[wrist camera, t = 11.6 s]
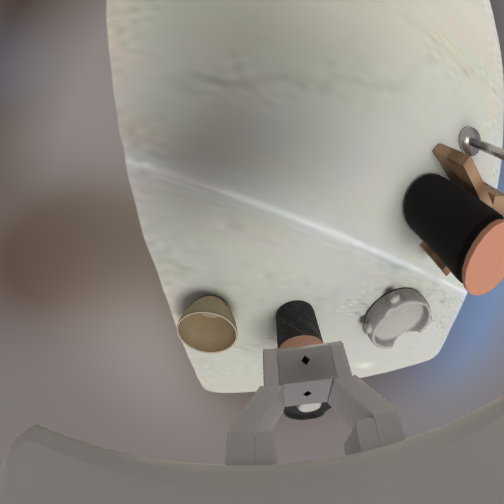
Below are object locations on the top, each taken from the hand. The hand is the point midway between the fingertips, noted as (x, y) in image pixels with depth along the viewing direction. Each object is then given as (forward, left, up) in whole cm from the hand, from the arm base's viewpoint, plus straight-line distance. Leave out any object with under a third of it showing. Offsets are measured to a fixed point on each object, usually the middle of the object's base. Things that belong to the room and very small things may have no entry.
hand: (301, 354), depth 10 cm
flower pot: (+24, -12, -31) cm, 41 cm away
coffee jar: (+7, +27, -31) cm, 41 cm away
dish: (+31, +24, -31) cm, 50 cm away
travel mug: (+28, +3, -31) cm, 42 cm away
